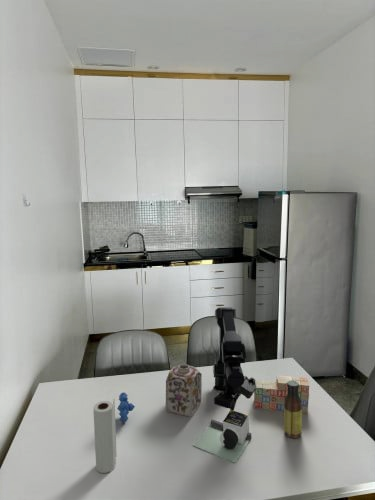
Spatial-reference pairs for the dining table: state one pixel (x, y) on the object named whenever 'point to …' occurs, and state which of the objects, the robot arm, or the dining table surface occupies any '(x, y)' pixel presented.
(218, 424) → the strip
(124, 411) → the grapes
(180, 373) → the decorative jar
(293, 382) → the sauce bottle
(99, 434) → the paper towel roll
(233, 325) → the robot arm
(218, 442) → the pale green flat panel
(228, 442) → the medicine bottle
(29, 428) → the dining table surface
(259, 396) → the stack of blocks
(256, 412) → the dining table surface
